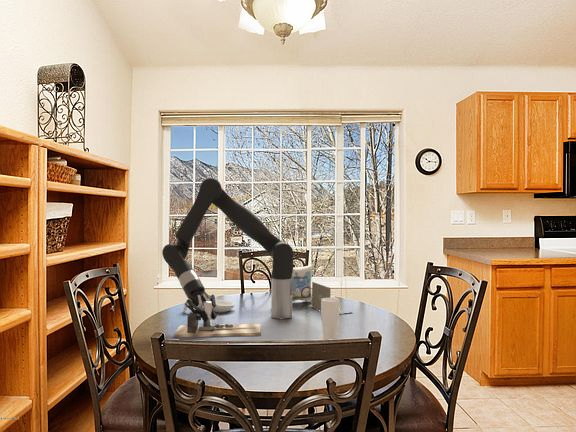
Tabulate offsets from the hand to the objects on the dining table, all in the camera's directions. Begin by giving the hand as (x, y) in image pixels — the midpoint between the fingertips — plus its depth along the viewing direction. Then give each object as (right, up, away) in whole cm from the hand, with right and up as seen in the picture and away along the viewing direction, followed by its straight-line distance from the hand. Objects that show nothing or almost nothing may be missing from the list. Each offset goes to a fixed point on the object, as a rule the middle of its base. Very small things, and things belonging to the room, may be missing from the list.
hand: (210, 319), depth 151 cm
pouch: (+34, -5, +52) cm, 62 cm away
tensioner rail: (+3, -5, +2) cm, 6 cm away
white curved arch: (-7, -6, +33) cm, 35 cm away
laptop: (+51, -6, +37) cm, 63 cm away
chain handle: (+2, -4, +2) cm, 5 cm away
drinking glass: (+45, -6, -8) cm, 46 cm away
